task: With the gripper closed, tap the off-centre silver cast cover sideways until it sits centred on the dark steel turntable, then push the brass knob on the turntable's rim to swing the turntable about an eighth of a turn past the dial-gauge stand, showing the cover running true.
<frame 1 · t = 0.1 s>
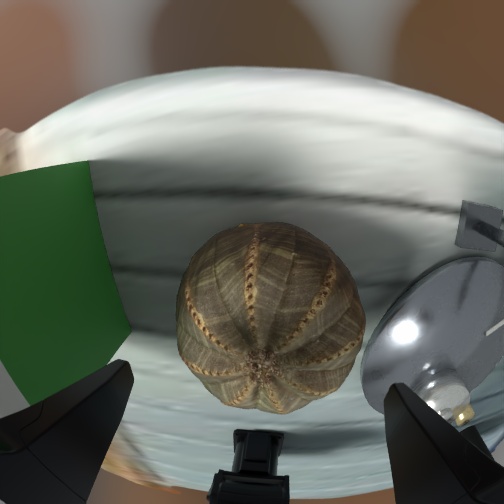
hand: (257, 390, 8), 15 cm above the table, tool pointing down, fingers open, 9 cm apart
dial stand: (477, 225, 19), on the table
platter: (458, 363, 20), point 4 cm above the table, hinge at 0.0°, touching cover
hardback book: (81, 254, 24), on the table
shell: (271, 270, 23), on the table
cover: (432, 392, 23), point 3 cm above the table, touching platter
drinking cup: (463, 433, 30), on the table
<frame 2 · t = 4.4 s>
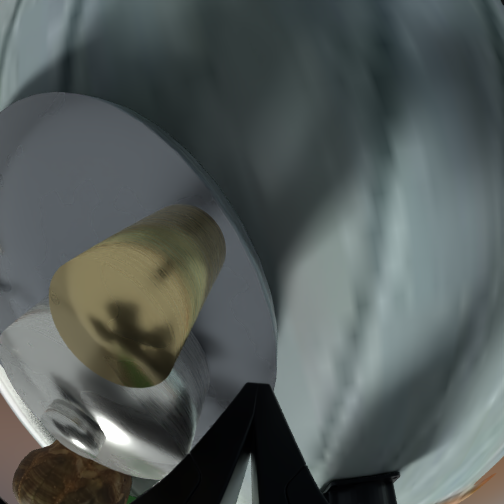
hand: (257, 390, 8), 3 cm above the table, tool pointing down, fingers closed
platter: (31, 352, 8), point 4 cm above the table, hinge at -0.2°
shell: (93, 449, 19), on the table
cover: (122, 356, 9), point 3 cm above the table, touching gripper
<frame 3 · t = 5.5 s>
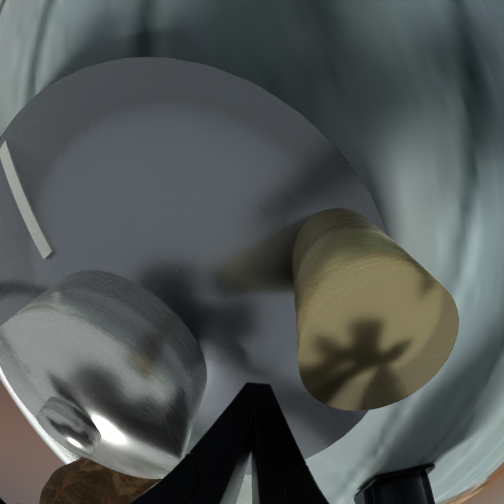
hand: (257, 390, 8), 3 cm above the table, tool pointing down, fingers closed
platter: (100, 378, 8), point 4 cm above the table, hinge at -0.4°, touching cover
shell: (124, 460, 19), on the table
cover: (118, 354, 9), point 3 cm above the table, touching gripper, platter
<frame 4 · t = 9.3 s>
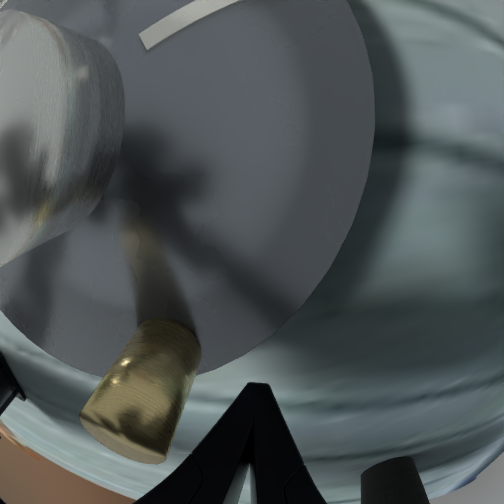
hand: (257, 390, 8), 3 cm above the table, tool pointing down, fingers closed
platter: (12, 136, 5), point 4 cm above the table, hinge at 1.7°, touching cover, gripper
cover: (43, 133, 7), point 3 cm above the table, touching platter
drinking cup: (386, 468, 16), on the table
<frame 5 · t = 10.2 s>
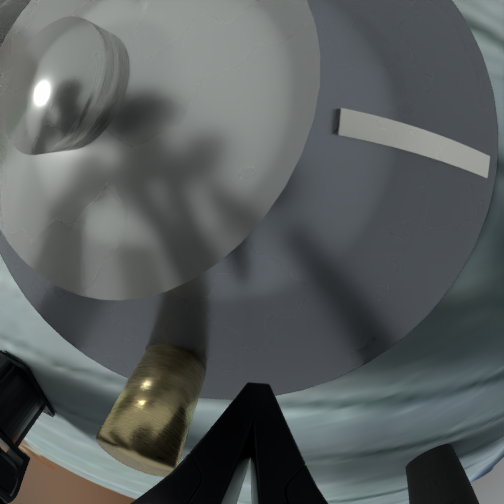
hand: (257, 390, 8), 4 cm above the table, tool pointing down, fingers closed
platter: (135, 101, 5), point 4 cm above the table, hinge at 34.0°, touching cover, gripper
cover: (161, 109, 6), point 3 cm above the table, touching platter
drinking cup: (428, 456, 16), on the table
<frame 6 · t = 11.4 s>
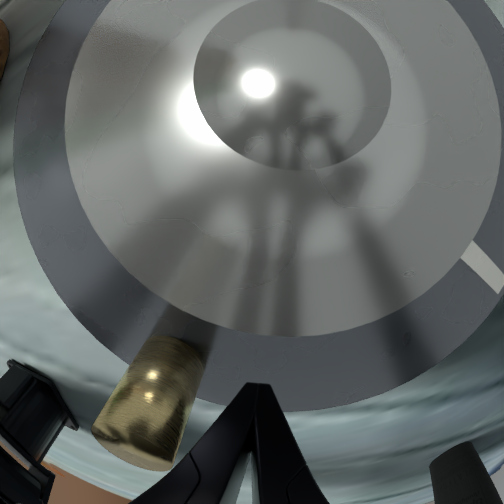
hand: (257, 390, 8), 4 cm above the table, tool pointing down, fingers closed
platter: (286, 113, 5), point 4 cm above the table, hinge at 55.7°, touching cover, gripper
cover: (285, 122, 6), point 3 cm above the table, touching platter
drinking cup: (450, 454, 16), on the table
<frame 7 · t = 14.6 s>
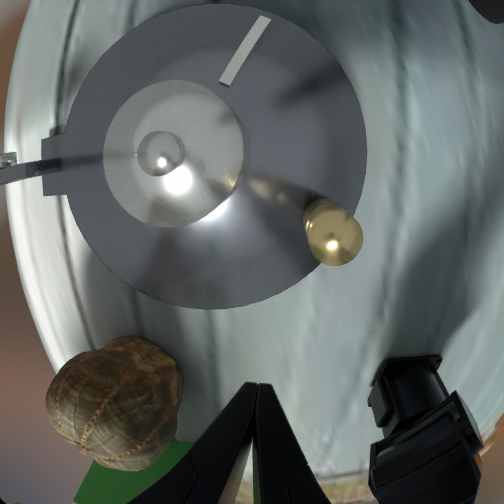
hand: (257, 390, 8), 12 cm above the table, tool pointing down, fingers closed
dial stand: (63, 164, 18), on the table
platter: (180, 153, 14), point 4 cm above the table, hinge at 55.8°, touching cover
hardback book: (172, 450, 31), on the table
shell: (142, 360, 25), on the table
cover: (188, 152, 15), point 3 cm above the table, touching platter
drinking cup: (482, 3, 9), on the table
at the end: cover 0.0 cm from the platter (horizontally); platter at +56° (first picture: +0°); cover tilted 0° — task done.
